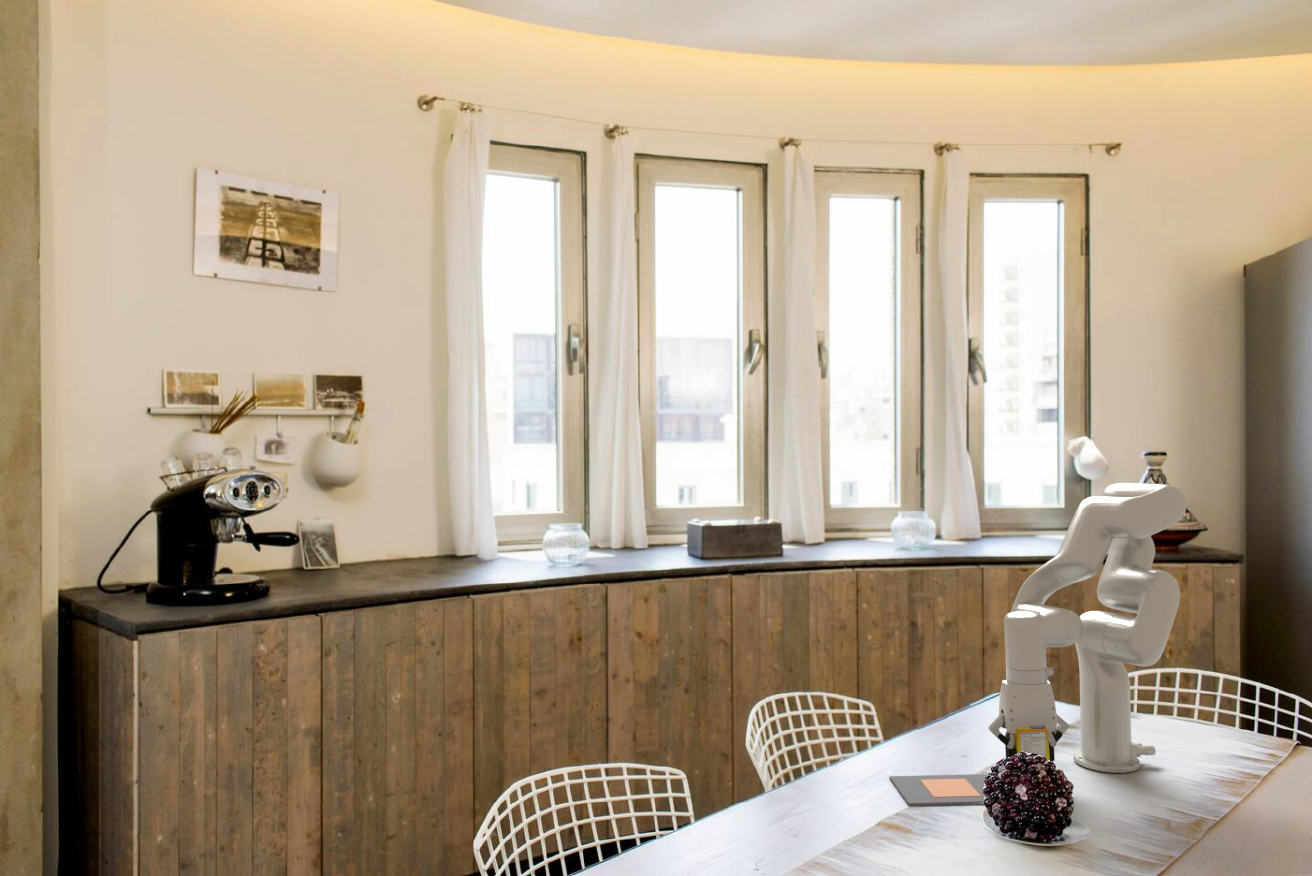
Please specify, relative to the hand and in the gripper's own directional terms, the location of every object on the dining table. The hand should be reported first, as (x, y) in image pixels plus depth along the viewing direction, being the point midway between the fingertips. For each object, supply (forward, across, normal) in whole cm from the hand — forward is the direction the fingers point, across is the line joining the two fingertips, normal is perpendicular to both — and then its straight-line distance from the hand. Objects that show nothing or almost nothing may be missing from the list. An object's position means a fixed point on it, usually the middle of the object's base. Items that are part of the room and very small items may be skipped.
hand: (1030, 764), depth 185 cm
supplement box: (+3, 0, 0) cm, 3 cm away
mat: (+3, +17, +2) cm, 17 cm away
